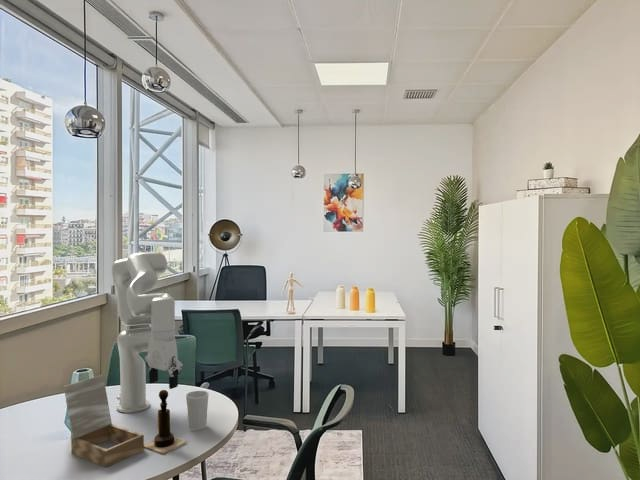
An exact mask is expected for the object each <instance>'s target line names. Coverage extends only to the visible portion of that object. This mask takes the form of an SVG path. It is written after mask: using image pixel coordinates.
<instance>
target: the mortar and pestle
mask: <svg viewBox="0 0 640 480" xmlns="http://www.w3.org/2000/svg"><path fill="white" fill-rule="evenodd" d="M158 397H159V399H160V401H161V402H160V404H159V405H160V406H159V407H160V409H158V410H157V434H156V435H155V436H154V438H153V441H154V445H155V446H156V447H168V446H170V445H172V444H173V443H174V438H175V434H174V433H172V432H171V413H170V412H171V411H170V409H169V408H167V407H168V403H167V399H168V397H169V392H168V391H167V390H166V389H161V390H160V391H159V393H158Z"/></svg>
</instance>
